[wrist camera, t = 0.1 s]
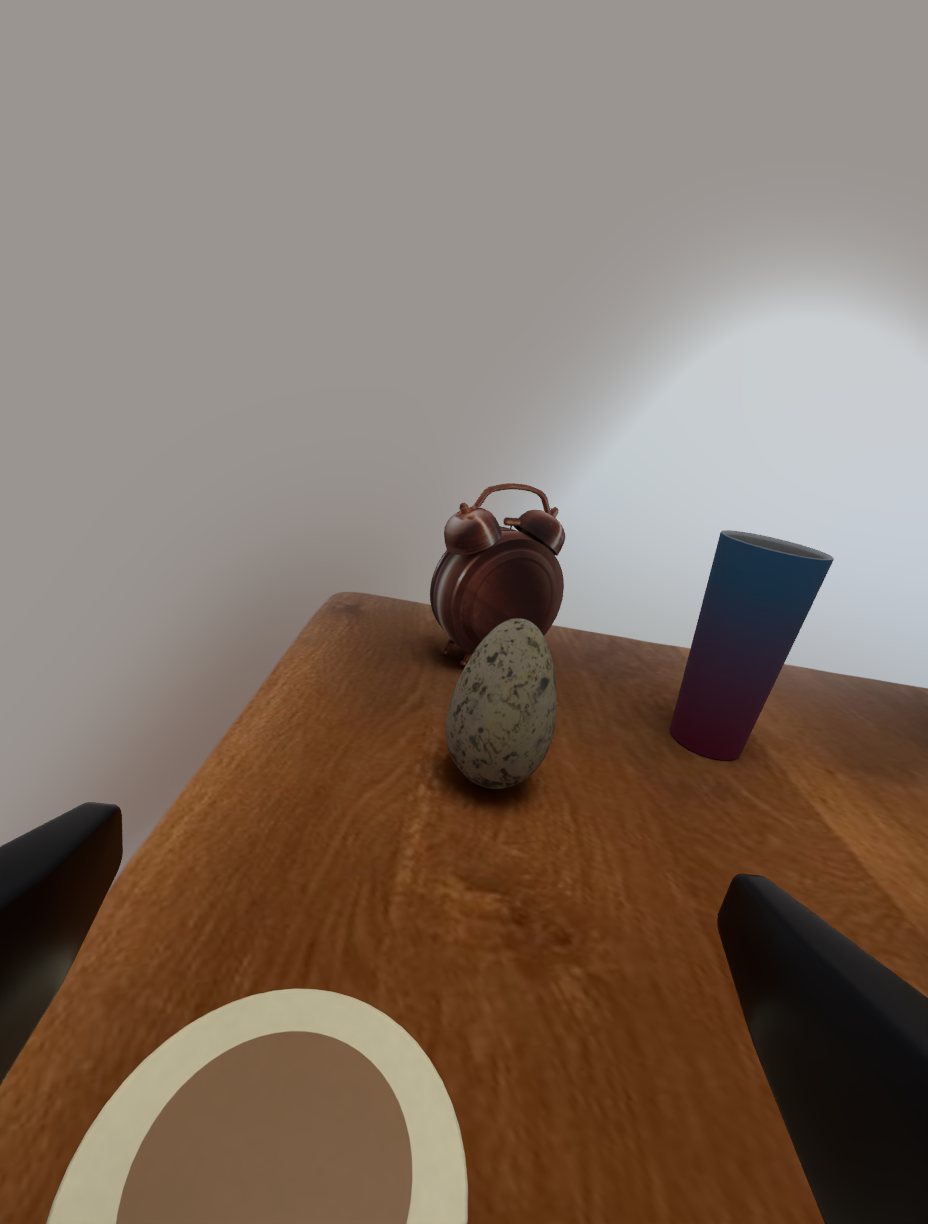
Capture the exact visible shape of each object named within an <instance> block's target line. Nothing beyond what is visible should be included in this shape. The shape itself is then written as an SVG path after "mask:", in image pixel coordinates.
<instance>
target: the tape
mask: <svg viewBox="0 0 928 1224" xmlns="http://www.w3.org/2000/svg"><path fill="white" fill-rule="evenodd" d="M467 1221H468V1182H467V1170H466V1159H465V1153H464V1148H463V1142H462V1137H461V1132H460V1128H459V1124H458V1121H457V1118H456V1115H455V1111H454V1108H453V1105H452V1102H451V1100H450V1098H449V1095H448V1093H447V1091H446V1088H445V1086H444V1084H443V1082H442V1079H441V1078H440V1076H439V1074H438V1073H437V1071H436V1069H435V1067H434V1066H433V1064H432V1062H431V1061H430V1059H429V1058H428V1056H427V1055H426V1054H425V1052H424V1051H423V1050H422V1048H421V1047H420V1046H419V1044H418V1043H417V1042H416V1041H415V1040H414V1039H413V1038H412V1037H411V1036H410V1035H409V1034H408V1033H407V1032H406V1031H405V1030H404V1029H403V1028H402V1027H401V1026H400V1025H399V1024H397V1023H396V1022H395V1021H394V1020H392V1019H391V1018H390V1017H388V1016H387V1015H386V1014H384V1013H382V1012H381V1011H379V1010H377V1009H376V1008H374V1007H372V1006H371V1005H369V1004H366V1003H364V1002H362V1001H359V1000H357V999H355V998H352V997H349V996H346V995H342V994H338V993H335V992H330V991H323V990H316V989H287V990H277V991H270V992H266V993H261V994H257V995H252V996H249V997H246V998H243V999H240V1000H237V1001H234V1002H231V1003H229V1004H227V1005H225V1006H222V1007H220V1008H218V1009H216V1010H214V1011H211V1012H209V1013H208V1014H206V1015H204V1016H203V1017H201V1018H199V1019H197V1020H196V1021H194V1022H192V1023H191V1024H189V1025H187V1026H186V1027H185V1028H183V1029H182V1030H180V1031H179V1032H178V1033H176V1034H175V1035H173V1036H172V1037H171V1038H169V1039H168V1040H166V1041H165V1042H164V1043H163V1044H162V1045H161V1046H160V1047H158V1048H157V1049H156V1050H155V1051H154V1052H153V1053H152V1054H150V1055H149V1056H148V1057H147V1058H146V1059H145V1060H144V1061H143V1062H142V1063H141V1064H140V1065H139V1066H138V1067H137V1068H136V1069H135V1070H134V1071H133V1072H132V1073H131V1074H130V1075H129V1076H128V1077H127V1079H126V1080H125V1081H124V1082H123V1083H122V1084H121V1086H120V1087H119V1088H118V1089H117V1091H116V1092H115V1093H114V1094H113V1096H112V1097H111V1098H110V1099H109V1101H108V1102H107V1103H106V1104H105V1106H104V1107H103V1109H102V1110H101V1112H100V1113H99V1115H98V1116H97V1118H96V1119H95V1121H94V1122H93V1124H92V1125H91V1127H90V1128H89V1130H88V1131H87V1133H86V1134H85V1136H84V1138H83V1140H82V1142H81V1144H80V1145H79V1147H78V1149H77V1151H76V1153H75V1155H74V1156H73V1158H72V1160H71V1162H70V1164H69V1166H68V1168H67V1170H66V1173H65V1175H64V1177H63V1180H62V1182H61V1184H60V1187H59V1189H58V1191H57V1194H56V1196H55V1198H54V1201H53V1204H52V1207H51V1210H50V1213H49V1217H48V1220H47V1223H46V1224H467Z"/></svg>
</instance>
